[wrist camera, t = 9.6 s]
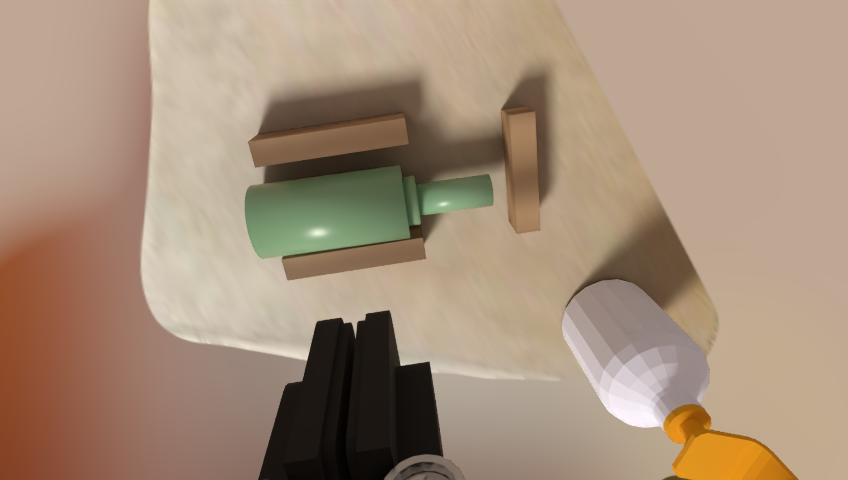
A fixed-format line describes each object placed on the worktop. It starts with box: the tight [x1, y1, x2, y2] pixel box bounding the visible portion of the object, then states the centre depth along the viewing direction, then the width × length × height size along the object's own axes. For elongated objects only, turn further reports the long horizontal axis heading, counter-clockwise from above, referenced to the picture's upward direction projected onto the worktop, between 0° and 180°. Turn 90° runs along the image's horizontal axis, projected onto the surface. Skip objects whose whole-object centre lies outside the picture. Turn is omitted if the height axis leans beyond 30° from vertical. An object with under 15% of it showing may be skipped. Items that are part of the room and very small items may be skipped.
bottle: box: [245, 165, 493, 259], centre depth 39 cm, size 6×6×19 cm
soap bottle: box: [562, 279, 798, 480], centre depth 37 cm, size 9×9×25 cm
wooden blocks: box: [248, 106, 540, 280], centre depth 40 cm, size 12×22×3 cm, turn 98°
